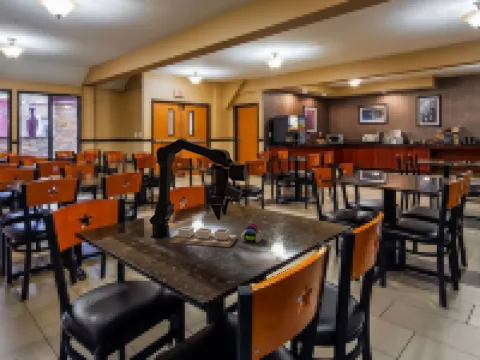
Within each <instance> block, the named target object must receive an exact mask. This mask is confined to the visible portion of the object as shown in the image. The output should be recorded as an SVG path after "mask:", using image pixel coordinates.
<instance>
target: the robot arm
mask: <svg viewBox="0 0 480 360" xmlns="http://www.w3.org/2000/svg"><path fill="white" fill-rule="evenodd" d="M182 150H184V151H187V152H189V153H194V154H196V155H199V156H202V157H205V158H207V159H208V160H209V161H210V162H212V166H210V167H209V170H214V182H213V187H214V192H213V195H211V196H210V197H209V198H208V199H207V200H208V201H207V204H209V206H210V207H211V210H212V212H213V213H214V215H215V217H216V219H217V220H218V221H221V218H222V215H223V216H226V215H227V212H228V207H229V203H230V202H231V201H232V200H233V199H235V200H239V199H241V197H242V194H243V192H244V191H243V190H242V186H240V185H237V186H232V185H231V182H229V179H230V180H231V181H232V182H247V179H248V170H247V166H246V164H245V163H243V164H235V162H234V161H233V159H232V158H231V154H230V151H228V150H227V149H222V148H213V147H209V146H205V145H203V144H199V143H195V142H192V141H190V140H187V139H186V138H179V139H177V140H175V141H174V142H171V143H170V144H167V145H165V146H159V147H158V148H157V150H156V160H157V163H158V166H159V183H158V185H159V187H158V189H159V191H158V201H157V203H156V205H155V209H154V212H153V213H154V214H153V215H152V216H151V217H150V218H149V223H150V225H151V228H152V234H151V235H150V238H159V239H165V238H166V237H168V236H170V235H171V233H170V225H169V222H168V221H170V219H171V217H173V215H174V213H175V204H176V203H175V202H172V200H171V183H172V182H171V179H172V178H171V176H172V166H173V164H174V162H175V158H176V154H177V155H178V154H179V153H180V152H181V151H182Z"/></svg>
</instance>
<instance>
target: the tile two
mask: <svg viewBox="0 0 480 360" xmlns="http://www.w3.org/2000/svg"><path fill="white" fill-rule="evenodd" d="M195 232H196V238H199V239H207V240H209V239H208V238H209V237H210V236H211V233H212V228H209V227H208V228H207V227H205V228H204V227H200V228H198V229H197V230H196V231H195Z"/></svg>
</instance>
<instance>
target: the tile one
mask: <svg viewBox="0 0 480 360" xmlns="http://www.w3.org/2000/svg"><path fill="white" fill-rule="evenodd" d="M194 230H195V229H194V227H193V226H192V227H191V226H181V227H180V228H179V229H178V230H177V231H178V233H177V234H178V235H179V237H181V238H191V236H192V235H193V234H194V232H195V231H194Z"/></svg>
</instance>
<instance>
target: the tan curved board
mask: <svg viewBox="0 0 480 360" xmlns="http://www.w3.org/2000/svg"><path fill="white" fill-rule="evenodd" d="M237 238H238V236H237V234H229V237H228V239H227V240H219V239H215V233H212V232H211V236H210V237H209V238H208V239H205V238H196V231H194V234H193V235H192V236H191V237H179V235H178V233H177V234H175V235H173V236H172V237H170V238H169V243H171V244H187V245H198V246H208V247H209V246H211V247H213V246H214V247H226V248H230V247H231V246H232V245H233V244H234V243H235V241H237Z"/></svg>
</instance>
